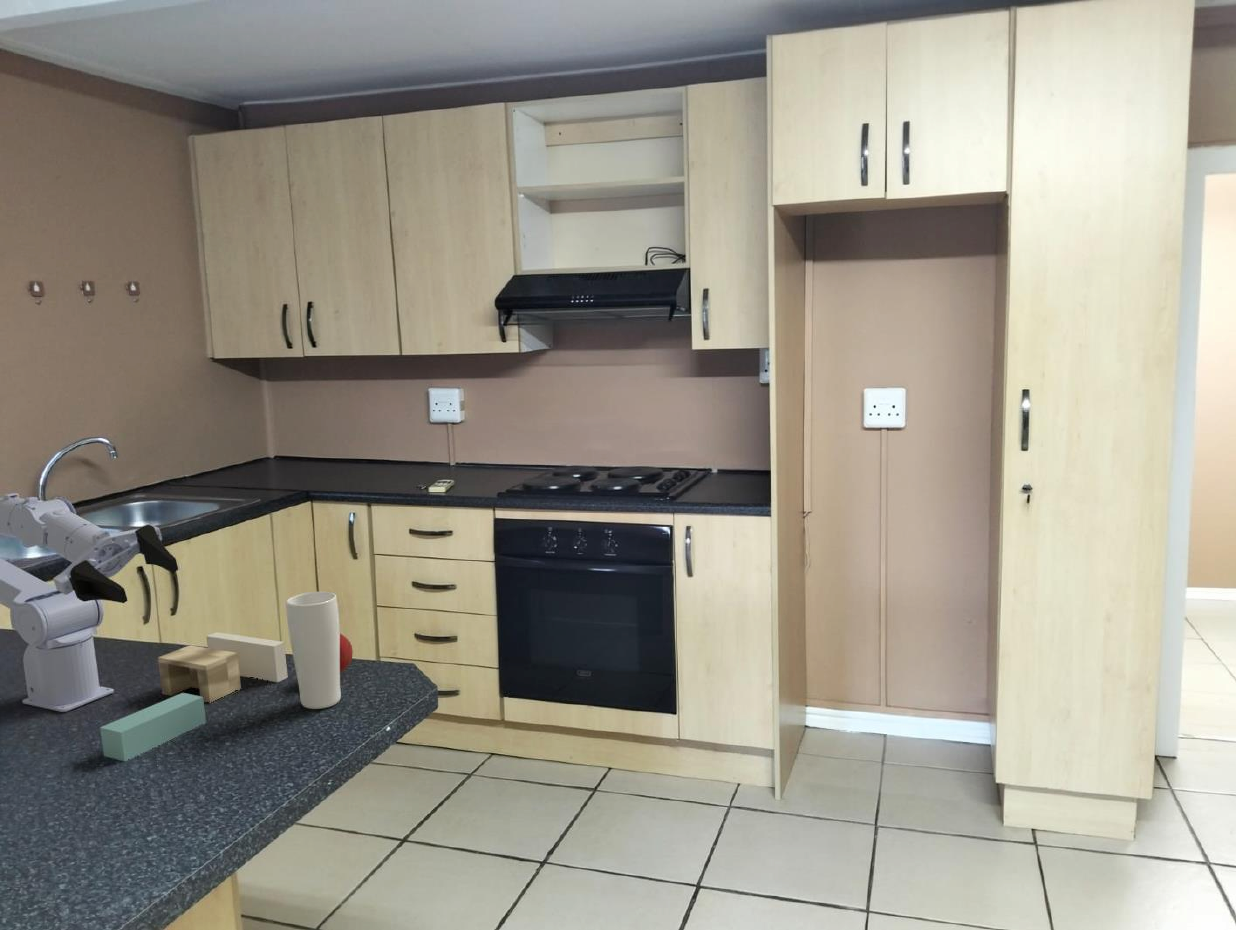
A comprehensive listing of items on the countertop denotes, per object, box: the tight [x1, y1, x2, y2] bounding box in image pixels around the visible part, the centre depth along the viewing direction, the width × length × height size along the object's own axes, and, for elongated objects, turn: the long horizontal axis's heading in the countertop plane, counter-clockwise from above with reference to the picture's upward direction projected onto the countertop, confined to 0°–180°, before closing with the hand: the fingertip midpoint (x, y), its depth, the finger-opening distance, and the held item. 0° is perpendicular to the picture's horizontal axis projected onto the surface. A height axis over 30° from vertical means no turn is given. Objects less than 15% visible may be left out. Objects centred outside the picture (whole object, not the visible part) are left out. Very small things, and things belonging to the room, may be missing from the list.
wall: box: [205, 631, 289, 683], centre depth 150 cm, size 14×2×6 cm, turn 63°
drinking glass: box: [285, 591, 342, 710], centre depth 136 cm, size 7×7×15 cm
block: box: [157, 645, 242, 704], centre depth 143 cm, size 10×6×6 cm, turn 63°
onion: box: [340, 633, 354, 675], centre depth 146 cm, size 6×6×8 cm
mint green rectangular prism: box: [99, 692, 207, 762], centre depth 127 cm, size 4×12×4 cm, turn 152°
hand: (149, 580), depth 129 cm, fingers open, 7 cm apart
